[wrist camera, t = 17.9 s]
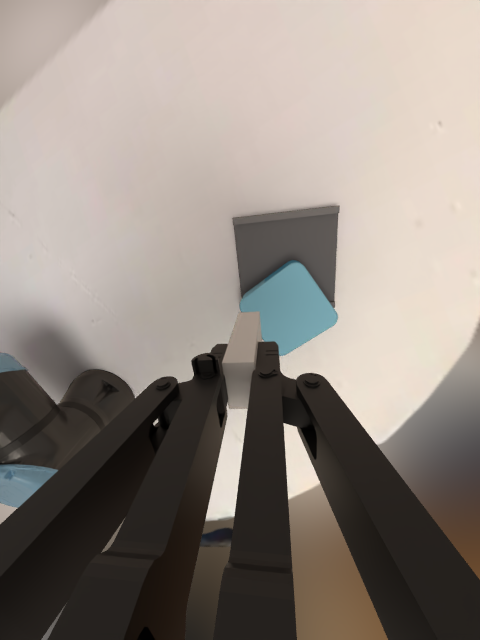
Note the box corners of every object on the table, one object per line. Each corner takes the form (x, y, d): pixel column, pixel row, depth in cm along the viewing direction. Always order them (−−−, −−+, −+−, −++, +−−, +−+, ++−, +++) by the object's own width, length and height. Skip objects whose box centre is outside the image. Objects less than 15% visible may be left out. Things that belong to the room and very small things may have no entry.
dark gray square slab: (243, 309, 45) (242, 313, 43) (234, 218, 39) (232, 218, 37) (332, 304, 43) (334, 307, 41) (336, 206, 37) (339, 205, 35)
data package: (238, 298, 43) (277, 348, 45) (235, 304, 38) (278, 359, 41) (295, 255, 39) (335, 312, 41) (298, 257, 35) (342, 320, 37)
